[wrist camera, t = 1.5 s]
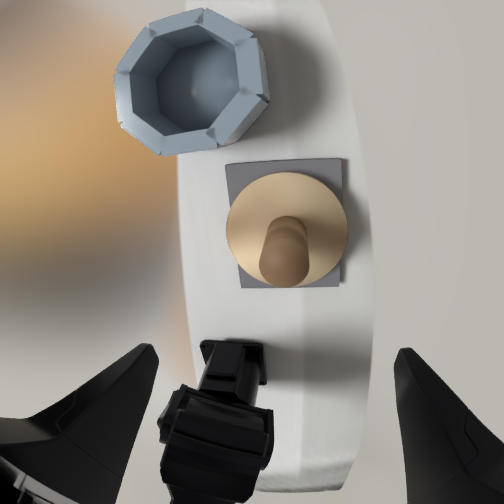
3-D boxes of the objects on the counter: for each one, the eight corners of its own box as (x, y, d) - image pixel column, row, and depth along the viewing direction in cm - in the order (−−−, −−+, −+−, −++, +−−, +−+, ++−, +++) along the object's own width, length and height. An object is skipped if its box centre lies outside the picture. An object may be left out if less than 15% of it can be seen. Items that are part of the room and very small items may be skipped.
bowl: (274, 139, 18) (268, 143, 14) (156, 154, 19) (124, 164, 15) (260, 23, 14) (251, -2, 10) (144, 49, 16) (111, 38, 12)
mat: (338, 282, 22) (338, 286, 22) (242, 284, 23) (241, 288, 23) (339, 158, 18) (341, 159, 17) (226, 164, 19) (224, 165, 19)
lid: (343, 279, 21) (353, 323, 16) (236, 280, 23) (220, 324, 18) (345, 169, 18) (365, 187, 13) (222, 175, 19) (196, 195, 14)
